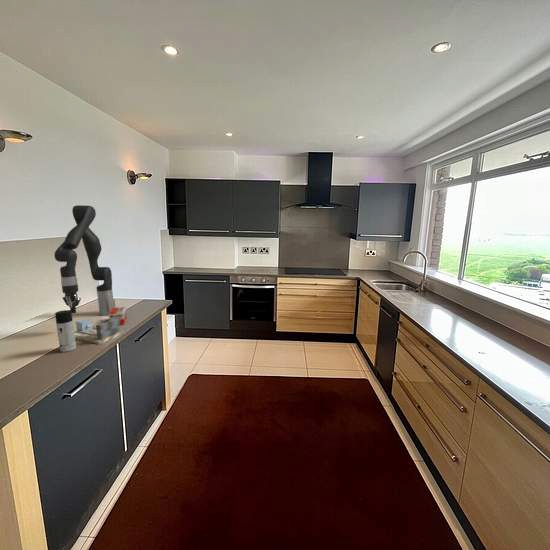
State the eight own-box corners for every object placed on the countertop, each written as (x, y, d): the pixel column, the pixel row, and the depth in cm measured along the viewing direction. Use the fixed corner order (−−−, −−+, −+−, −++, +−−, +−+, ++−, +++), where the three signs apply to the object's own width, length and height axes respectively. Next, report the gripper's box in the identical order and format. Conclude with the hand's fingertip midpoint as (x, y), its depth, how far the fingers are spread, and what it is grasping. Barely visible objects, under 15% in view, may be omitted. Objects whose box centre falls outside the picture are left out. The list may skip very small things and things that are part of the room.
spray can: (62, 347, 149) (56, 310, 145) (77, 345, 152) (72, 309, 148) (58, 353, 143) (52, 314, 139) (75, 350, 146) (69, 312, 142)
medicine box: (124, 325, 182) (123, 313, 180) (109, 327, 179) (108, 314, 177) (127, 317, 195) (125, 306, 194) (113, 319, 192) (112, 307, 191)
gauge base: (93, 327, 177) (91, 312, 176) (124, 333, 168) (123, 317, 166) (66, 337, 163) (64, 321, 161) (99, 344, 153) (96, 327, 152)
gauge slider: (87, 328, 172) (85, 318, 171) (94, 329, 170) (93, 319, 169) (69, 334, 163) (67, 324, 161) (77, 336, 160) (75, 325, 159)
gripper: (83, 283, 167) (87, 312, 170) (68, 282, 172) (72, 310, 175) (70, 286, 160) (74, 316, 163) (55, 284, 165) (59, 313, 168)
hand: (73, 313), depth 169 cm, fingers closed
